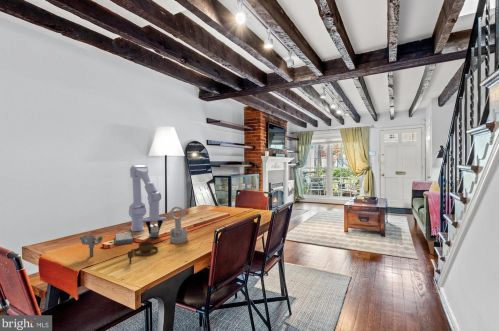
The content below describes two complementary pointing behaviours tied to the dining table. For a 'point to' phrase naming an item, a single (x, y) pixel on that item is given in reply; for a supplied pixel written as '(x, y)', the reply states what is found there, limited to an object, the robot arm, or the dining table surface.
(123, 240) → the panel
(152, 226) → the housing
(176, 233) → the engine component
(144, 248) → the place setting
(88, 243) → the mechanical component
